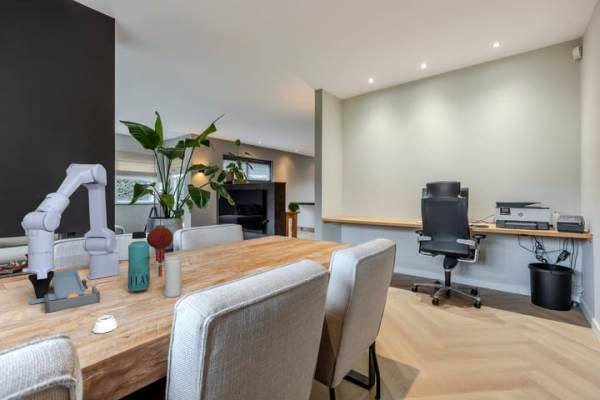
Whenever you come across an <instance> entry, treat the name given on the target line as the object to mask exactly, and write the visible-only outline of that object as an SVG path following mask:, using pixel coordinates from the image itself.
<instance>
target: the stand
mask: <svg viewBox="0 0 600 400" xmlns="http://www.w3.org/2000/svg"><path fill="white" fill-rule="evenodd" d="M81 281H82V284H83V286H84V288H85V290H88V288H89V287H88V285H87V279H86V278H83V279H81ZM47 294H48V295H49V294H54V290H53V284H51V283H50V285H49V289H48V293H47Z"/></svg>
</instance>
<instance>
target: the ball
mask: <svg viewBox="0 0 600 400" xmlns="http://www.w3.org/2000/svg"><path fill="white" fill-rule="evenodd" d="M76 296H80V295H78V294H75V293H74V294H70V295H69V296H68V297H66V298H71V297H76Z"/></svg>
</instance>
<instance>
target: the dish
mask: <svg viewBox="0 0 600 400" xmlns="http://www.w3.org/2000/svg"><path fill="white" fill-rule="evenodd" d="M100 298H101V293H100V291H99V290H98V288H97V287H96V286H95V285H93V286H91V293H89V294H82V295H79V296H76V297H71V298H67V297H66V298H61V299H55V300H50V301H49V297H48V294H46V295H44V302H43V303H44V312H45V313H44V314H49V313H55V312H60V311H63V310H69V309H73V308H79V307H83V306H87V305H93V304H97V303H98V304H99V303H100V302H101V299H100Z"/></svg>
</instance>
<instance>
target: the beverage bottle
mask: <svg viewBox="0 0 600 400" xmlns="http://www.w3.org/2000/svg"><path fill="white" fill-rule="evenodd" d="M131 234H132V235H131V239H134V240H136V241H132V242H130V244H128V246H127V248H128V250H127V251H128V252H127V253H128V254H127V255H128V256H127V257H128V258H127V260H128V263H127V264H128V265H127V267H128V268H127V289H128V290H129V291H132V292H133V291H142V290H147V288H149V287H150V284H151V282H150V280H151V275H150V272H151V268H150V263H151V260H150V259H151V256H150V254H151V253H150V247H151V246H150V244H149V243H148V242H147V240H145V241H144V240H142V239H147V233H146V231H133V232H132V233H131ZM137 240H139V241H137Z"/></svg>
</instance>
